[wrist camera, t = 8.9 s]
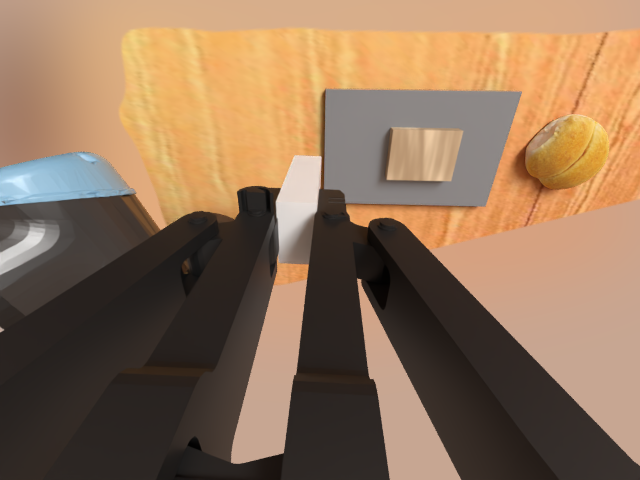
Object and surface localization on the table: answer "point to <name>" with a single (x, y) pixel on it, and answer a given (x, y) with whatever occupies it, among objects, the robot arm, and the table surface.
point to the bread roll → (567, 152)
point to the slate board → (414, 112)
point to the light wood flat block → (422, 153)
